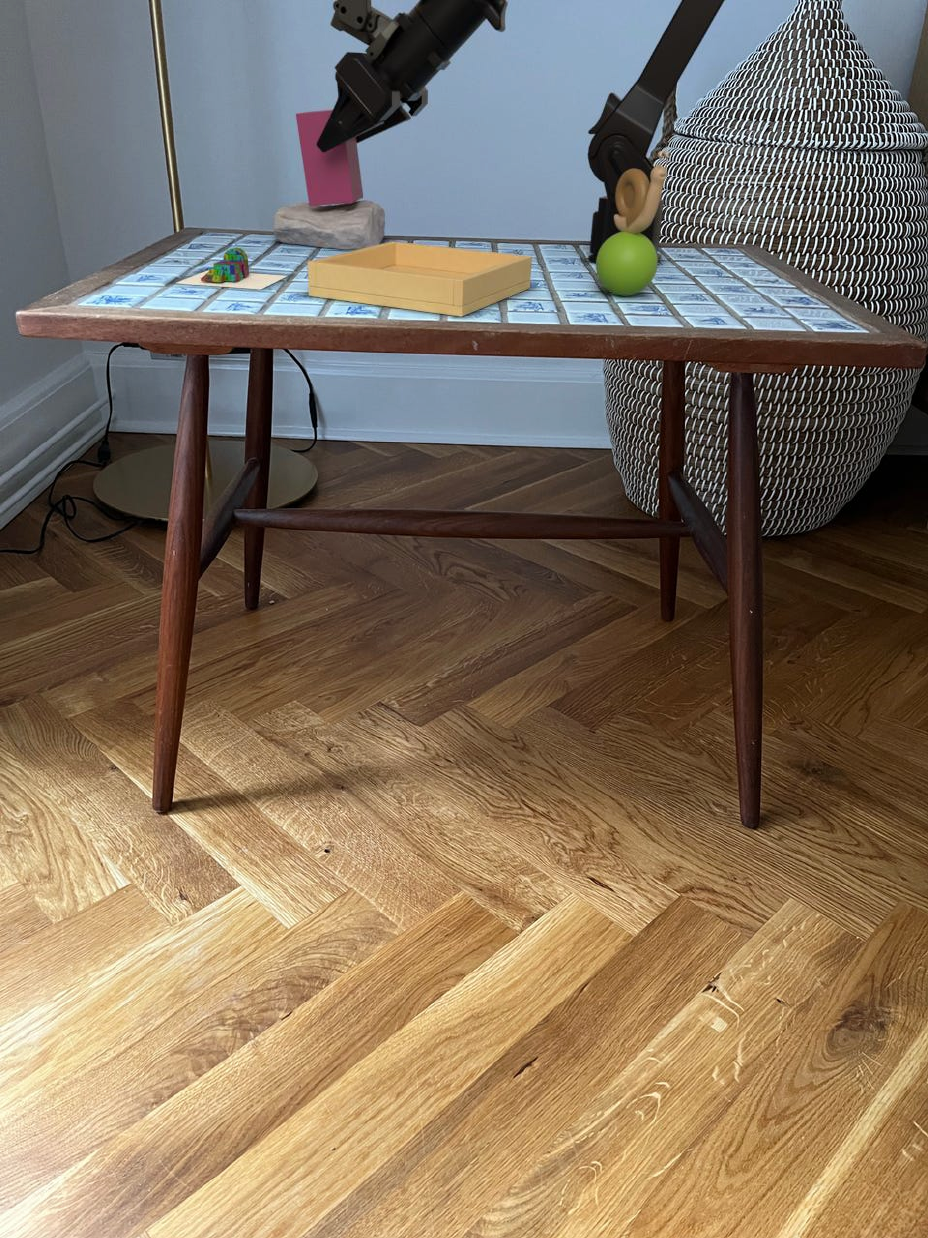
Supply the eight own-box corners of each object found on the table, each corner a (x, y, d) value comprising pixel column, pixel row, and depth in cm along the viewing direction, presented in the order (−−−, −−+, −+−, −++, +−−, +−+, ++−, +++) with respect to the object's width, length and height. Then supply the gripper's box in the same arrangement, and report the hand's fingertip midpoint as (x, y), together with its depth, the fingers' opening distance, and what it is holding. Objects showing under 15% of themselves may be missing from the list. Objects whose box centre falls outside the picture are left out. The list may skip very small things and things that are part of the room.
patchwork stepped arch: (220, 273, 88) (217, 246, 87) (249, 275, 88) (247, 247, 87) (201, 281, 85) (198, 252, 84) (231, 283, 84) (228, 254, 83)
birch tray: (530, 288, 88) (532, 256, 86) (461, 316, 76) (462, 280, 75) (392, 271, 93) (391, 240, 92) (308, 295, 81) (306, 261, 80)
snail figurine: (622, 305, 82) (639, 150, 76) (581, 291, 87) (594, 145, 81) (672, 301, 85) (692, 151, 79) (629, 287, 90) (645, 145, 84)
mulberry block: (363, 197, 108) (352, 107, 103) (353, 202, 103) (341, 109, 99) (320, 200, 108) (308, 111, 104) (309, 206, 104) (295, 113, 100)
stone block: (374, 267, 104) (389, 235, 112) (370, 222, 101) (386, 192, 109) (269, 265, 105) (290, 234, 113) (262, 221, 102) (284, 191, 110)
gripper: (400, -31, 102) (305, 83, 109) (354, -52, 86) (246, 83, 92) (470, 58, 105) (373, 163, 111) (438, 53, 89) (327, 176, 95)
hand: (332, 146), depth 103 cm, fingers open, 9 cm apart
